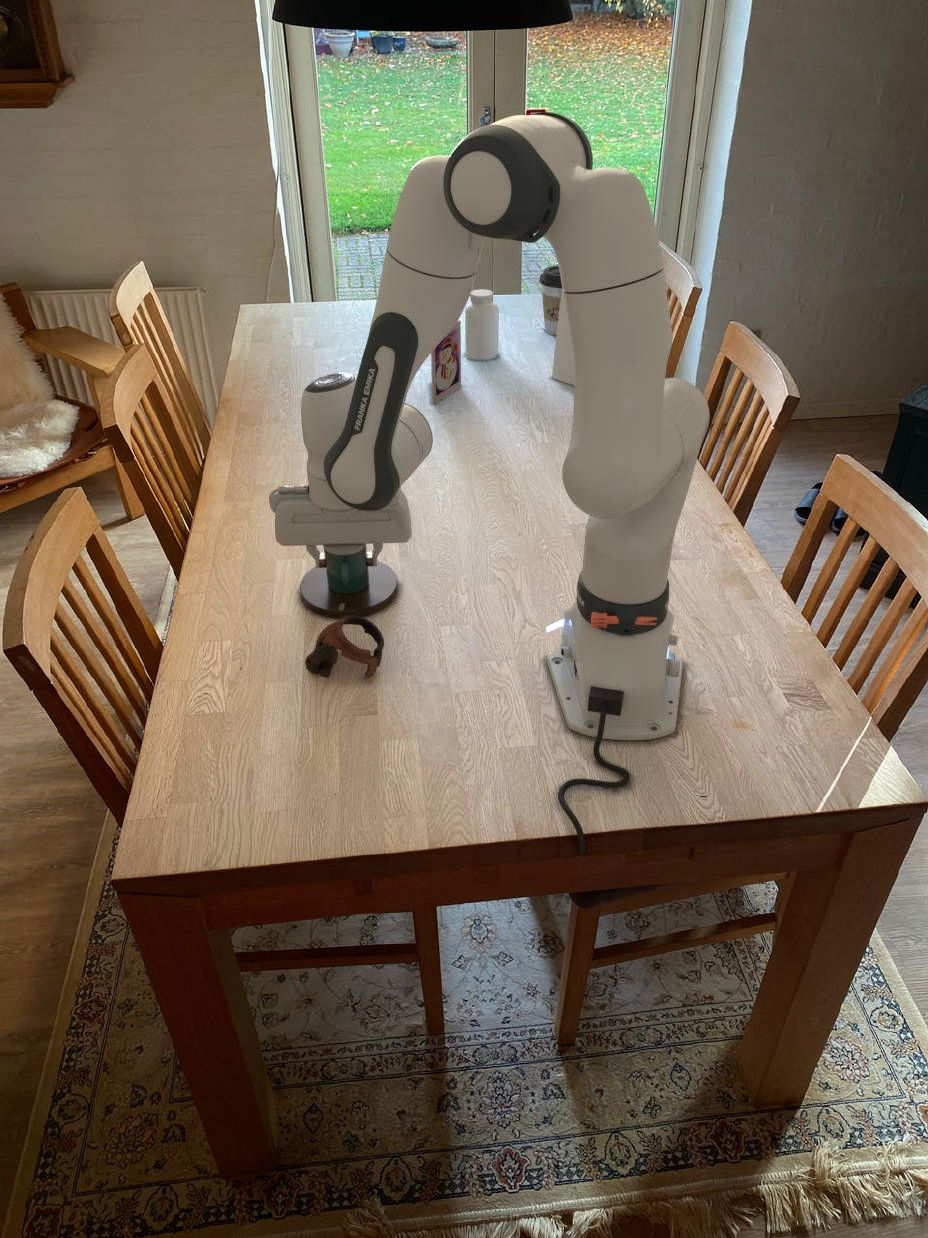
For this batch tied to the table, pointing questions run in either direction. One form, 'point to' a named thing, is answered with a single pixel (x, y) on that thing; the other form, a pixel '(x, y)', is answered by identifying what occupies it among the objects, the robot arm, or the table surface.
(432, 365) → the greeting card
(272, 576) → the table surface
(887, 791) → the table surface
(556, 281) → the coffee cup
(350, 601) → the turntable
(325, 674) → the brown strap loop
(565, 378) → the milk
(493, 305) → the pill bottle
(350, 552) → the green lidded mug
